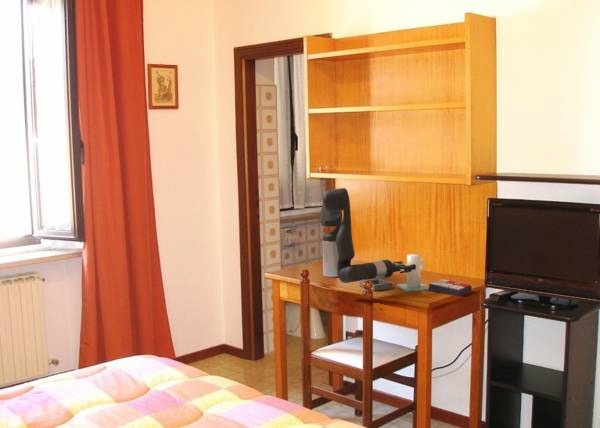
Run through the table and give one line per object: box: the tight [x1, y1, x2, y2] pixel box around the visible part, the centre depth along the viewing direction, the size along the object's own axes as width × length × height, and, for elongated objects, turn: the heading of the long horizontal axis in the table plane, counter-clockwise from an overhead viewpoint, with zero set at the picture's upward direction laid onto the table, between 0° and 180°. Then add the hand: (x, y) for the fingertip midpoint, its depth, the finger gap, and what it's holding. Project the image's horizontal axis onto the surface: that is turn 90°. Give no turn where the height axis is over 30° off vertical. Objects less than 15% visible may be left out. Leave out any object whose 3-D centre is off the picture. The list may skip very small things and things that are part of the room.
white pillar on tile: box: [406, 253, 424, 288], centre depth 306 cm, size 8×6×14 cm
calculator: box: [428, 278, 473, 297], centre depth 299 cm, size 11×4×15 cm
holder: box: [359, 278, 394, 292], centre depth 308 cm, size 10×10×2 cm
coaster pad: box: [395, 282, 429, 292], centre depth 307 cm, size 12×12×1 cm
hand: (408, 265), depth 304 cm, fingers open, 8 cm apart
